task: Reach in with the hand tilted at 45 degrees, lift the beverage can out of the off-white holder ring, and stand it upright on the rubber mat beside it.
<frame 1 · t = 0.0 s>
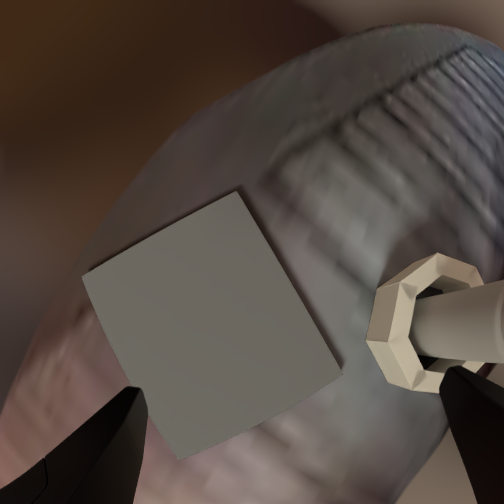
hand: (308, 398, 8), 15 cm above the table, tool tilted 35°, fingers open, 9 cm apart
holder ring: (422, 326, 23), on the table
rubber mat: (205, 329, 22), on the table
beverage can: (420, 326, 23), resting in holder ring
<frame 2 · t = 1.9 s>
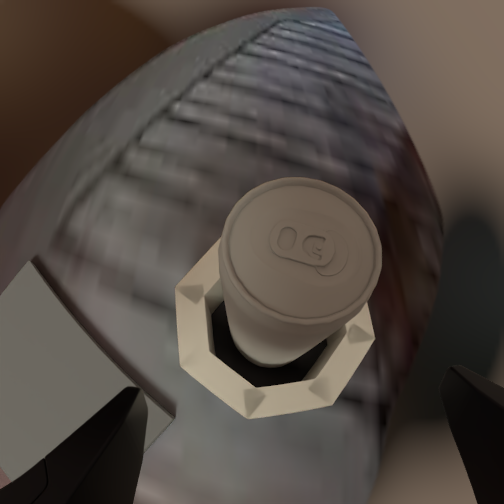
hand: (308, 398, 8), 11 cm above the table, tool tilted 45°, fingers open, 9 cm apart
holder ring: (269, 330, 19), on the table
rubber mat: (34, 400, 16), on the table
beverage can: (269, 331, 19), resting in holder ring
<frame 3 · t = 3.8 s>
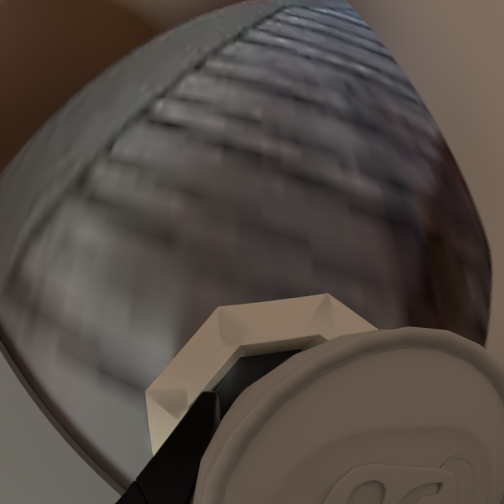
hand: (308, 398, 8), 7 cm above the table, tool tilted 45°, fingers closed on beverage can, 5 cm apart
holder ring: (280, 423, 13), on the table
rubber mat: (2, 477, 10), on the table
beverage can: (280, 423, 13), resting in holder ring, touching gripper
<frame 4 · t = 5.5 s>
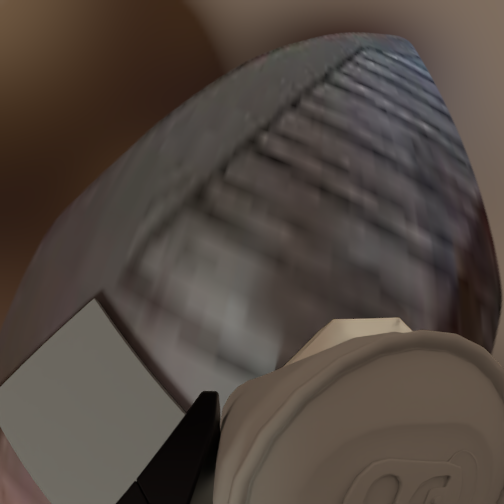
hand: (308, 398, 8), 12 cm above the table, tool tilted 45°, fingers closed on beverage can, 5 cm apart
holder ring: (348, 402, 19), on the table
rubber mat: (96, 445, 16), on the table
beverage can: (271, 421, 13), point 5 cm above the table, touching gripper
when the fingers open (9 cm above the table, at t = 7.6 s): beverage can stays where it is, resting on rubber mat.
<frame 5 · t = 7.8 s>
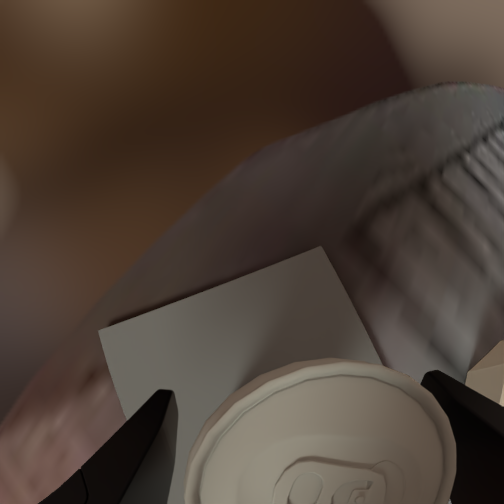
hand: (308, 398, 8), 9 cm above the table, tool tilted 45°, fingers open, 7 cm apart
rubber mat: (267, 422, 15), on the table
beverage can: (270, 422, 15), point 1 cm above the table, touching rubber mat
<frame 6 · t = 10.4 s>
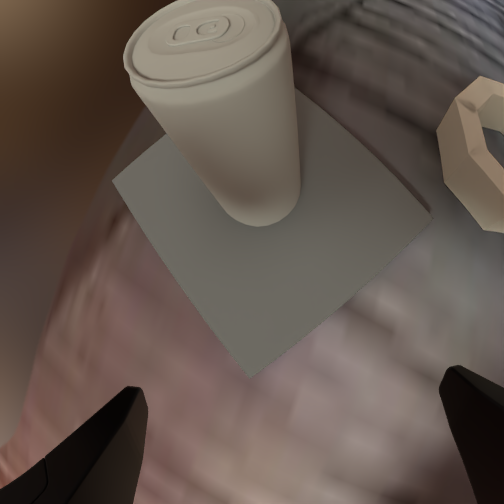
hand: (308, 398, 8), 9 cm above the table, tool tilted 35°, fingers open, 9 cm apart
holder ring: (496, 167, 17), on the table
rubber mat: (260, 196, 19), on the table
beverage can: (260, 191, 19), point 1 cm above the table, touching rubber mat
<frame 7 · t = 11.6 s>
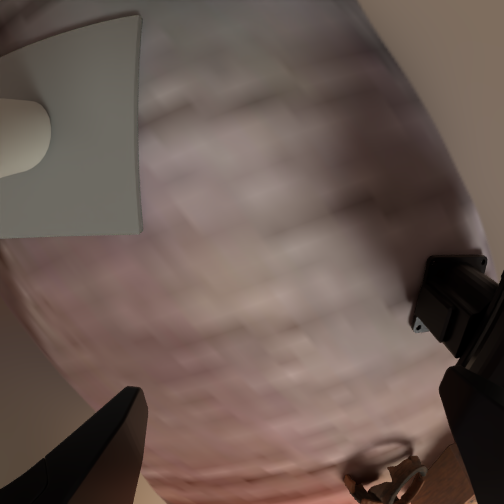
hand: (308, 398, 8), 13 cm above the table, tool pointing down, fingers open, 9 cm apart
tissue box cover: (479, 451, 35), on the table
rubber mat: (35, 136, 17), on the table
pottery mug: (378, 469, 31), on the table
beverage can: (30, 135, 16), point 1 cm above the table, touching rubber mat
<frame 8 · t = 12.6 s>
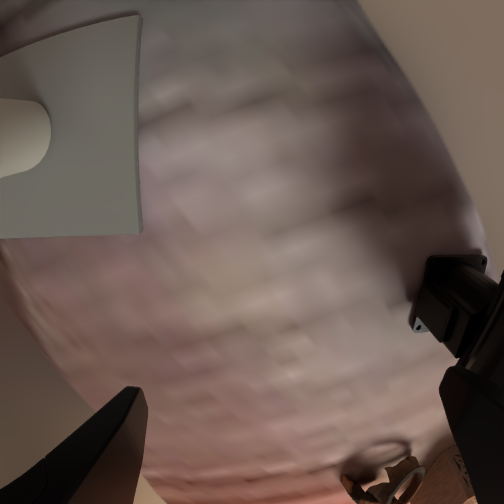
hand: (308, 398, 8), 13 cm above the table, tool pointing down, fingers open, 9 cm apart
tissue box cover: (479, 451, 35), on the table
rubber mat: (35, 136, 17), on the table
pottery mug: (376, 470, 31), on the table
beverage can: (30, 135, 16), point 1 cm above the table, touching rubber mat
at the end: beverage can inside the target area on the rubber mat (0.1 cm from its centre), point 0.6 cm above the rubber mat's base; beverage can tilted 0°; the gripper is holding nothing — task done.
